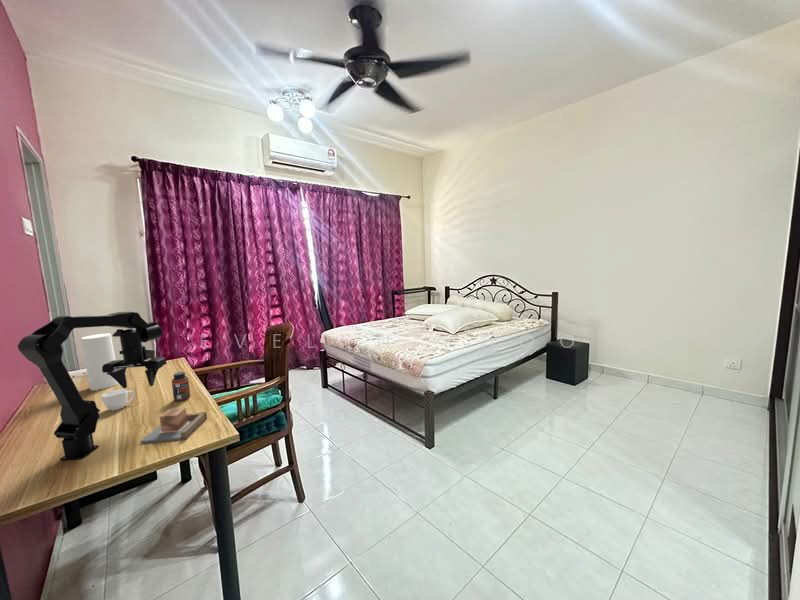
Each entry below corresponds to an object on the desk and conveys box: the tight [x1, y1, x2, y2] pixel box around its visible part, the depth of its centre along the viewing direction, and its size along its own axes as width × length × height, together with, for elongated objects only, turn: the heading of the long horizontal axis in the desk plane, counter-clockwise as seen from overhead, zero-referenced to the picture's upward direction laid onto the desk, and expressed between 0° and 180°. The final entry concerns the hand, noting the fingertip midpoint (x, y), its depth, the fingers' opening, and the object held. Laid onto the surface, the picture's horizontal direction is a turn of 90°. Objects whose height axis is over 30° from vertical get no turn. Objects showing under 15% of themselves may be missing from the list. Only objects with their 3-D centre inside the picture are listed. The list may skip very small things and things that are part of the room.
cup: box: [101, 388, 136, 412], centre depth 134 cm, size 8×10×7 cm
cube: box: [159, 407, 188, 432], centre depth 114 cm, size 6×6×6 cm
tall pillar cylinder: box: [80, 332, 120, 391], centre depth 159 cm, size 11×11×25 cm
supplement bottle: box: [171, 371, 191, 402], centre depth 140 cm, size 6×6×11 cm
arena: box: [140, 411, 208, 444], centre depth 114 cm, size 14×14×2 cm
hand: (138, 387), depth 121 cm, fingers open, 9 cm apart
